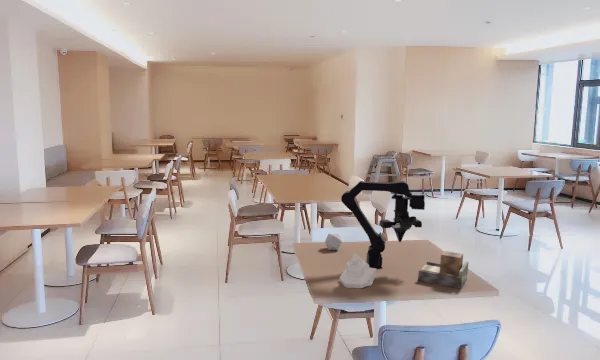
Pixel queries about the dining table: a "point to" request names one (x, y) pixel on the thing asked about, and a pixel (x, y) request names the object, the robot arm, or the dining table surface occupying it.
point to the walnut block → (451, 263)
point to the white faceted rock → (357, 273)
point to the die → (333, 241)
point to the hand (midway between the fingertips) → (399, 241)
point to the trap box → (442, 275)
